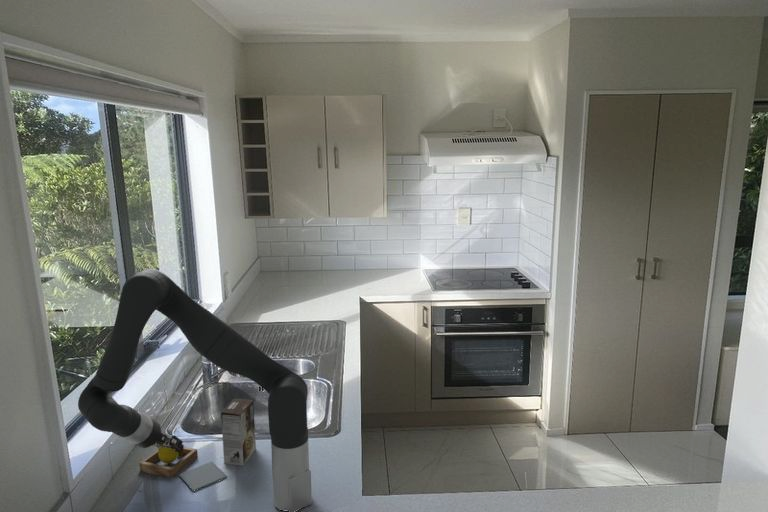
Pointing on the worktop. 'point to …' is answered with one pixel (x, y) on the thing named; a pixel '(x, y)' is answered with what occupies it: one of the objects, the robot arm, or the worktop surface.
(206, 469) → the mat
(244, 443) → the coffee box
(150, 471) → the holder
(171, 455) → the lemon
